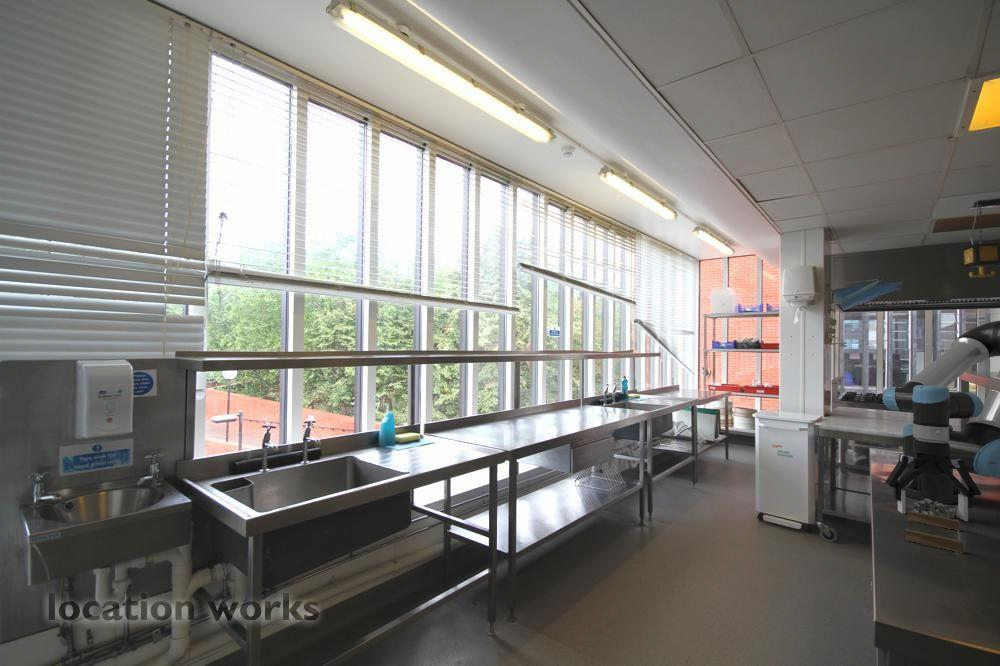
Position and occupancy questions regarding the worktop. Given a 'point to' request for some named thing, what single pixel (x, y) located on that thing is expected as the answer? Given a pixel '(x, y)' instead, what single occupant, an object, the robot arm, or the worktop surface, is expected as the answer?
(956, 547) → the parallel wooden rails
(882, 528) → the worktop surface
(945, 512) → the egg carton
